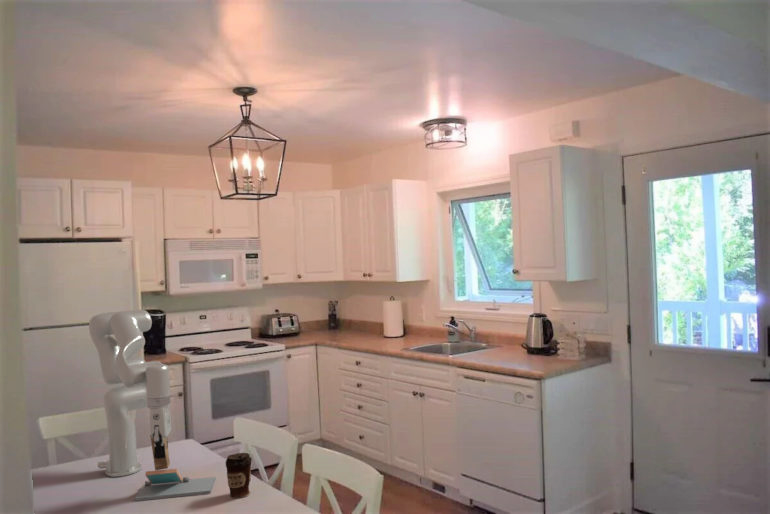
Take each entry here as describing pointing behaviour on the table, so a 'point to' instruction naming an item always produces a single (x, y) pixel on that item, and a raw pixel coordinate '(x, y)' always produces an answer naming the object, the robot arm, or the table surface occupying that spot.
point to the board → (176, 488)
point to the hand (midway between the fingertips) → (161, 455)
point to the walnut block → (161, 462)
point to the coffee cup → (239, 474)
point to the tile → (164, 476)
